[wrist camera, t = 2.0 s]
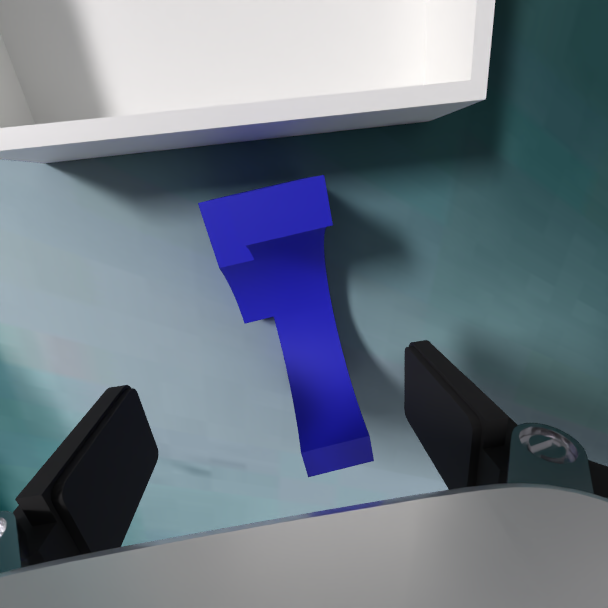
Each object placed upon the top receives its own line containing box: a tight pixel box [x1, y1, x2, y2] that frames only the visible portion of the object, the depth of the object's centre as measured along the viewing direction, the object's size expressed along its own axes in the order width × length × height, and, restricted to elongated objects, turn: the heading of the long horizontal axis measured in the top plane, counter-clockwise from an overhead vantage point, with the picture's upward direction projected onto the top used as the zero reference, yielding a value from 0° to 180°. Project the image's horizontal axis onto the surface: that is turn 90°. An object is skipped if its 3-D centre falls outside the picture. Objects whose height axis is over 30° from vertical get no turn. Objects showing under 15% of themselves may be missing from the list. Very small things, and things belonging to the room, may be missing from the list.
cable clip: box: [198, 175, 374, 477], centre depth 14 cm, size 12×4×6 cm, turn 12°
